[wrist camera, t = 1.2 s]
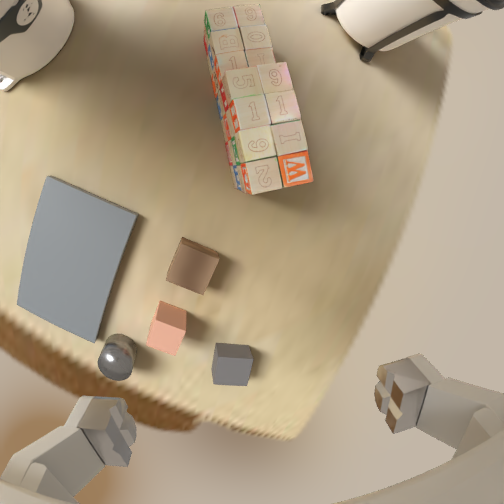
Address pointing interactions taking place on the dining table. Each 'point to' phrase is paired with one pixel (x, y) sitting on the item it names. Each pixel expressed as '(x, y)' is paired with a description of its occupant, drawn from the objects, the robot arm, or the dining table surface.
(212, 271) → the walnut block
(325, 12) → the coffee press
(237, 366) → the charcoal rubber cube
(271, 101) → the stack of blocks
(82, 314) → the slate board
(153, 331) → the terracotta block
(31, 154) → the dining table surface
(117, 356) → the dark metal cylinder
